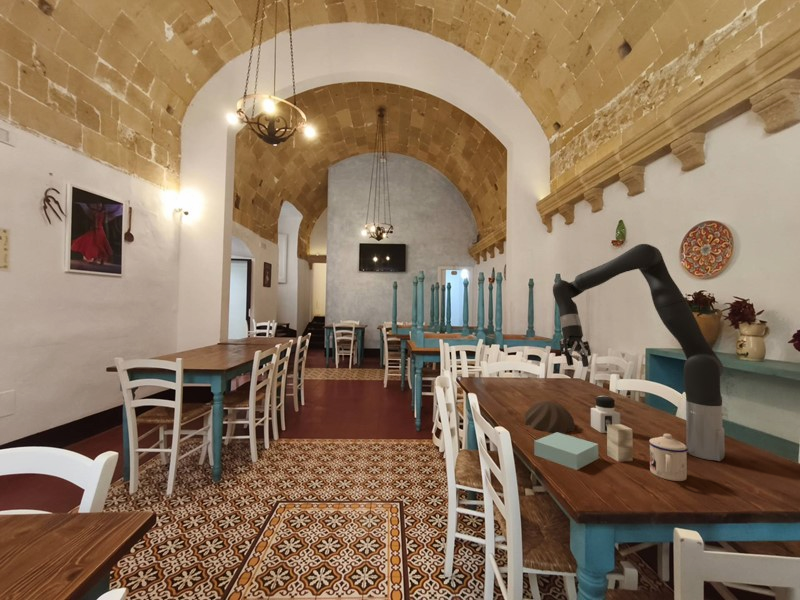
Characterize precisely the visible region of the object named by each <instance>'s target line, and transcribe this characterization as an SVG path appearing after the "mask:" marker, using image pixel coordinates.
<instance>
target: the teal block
mask: <svg viewBox="0 0 800 600" xmlns="http://www.w3.org/2000/svg"><path fill="white" fill-rule="evenodd" d="M533 442H534V443H533V444H534V446H533V447H534V449H533V450H534V456H536V457H539V458H542V459H544V460H547V461H550V462H553V463H556V464H559V465H562V466H563V467H566V468H569V469H572V470H575V471H578V470H580V469H581V468H583V467H586V466H587V465H589V464H591V463H593V462H594V461H597V460H598V459H599V443H595V442H593V441H589V440H586V439H582V438H578V437H575V436H572V435H568V434H566V433H560V432H552V433H551V434H549V435H548V434H547V435H545V436H544V437H540V438H538V439H535V440H534V441H533Z"/></svg>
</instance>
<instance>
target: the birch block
mask: <svg viewBox="0 0 800 600" xmlns="http://www.w3.org/2000/svg"><path fill="white" fill-rule="evenodd" d="M606 444H607V445H606V452H607V453H606V455H607V457H609V458H611V459H613V460H615V461H616V462H633V458H634V457H633V455H634V453H633V447H634V446H633V428H630V426H629V427H628V426H626V425H624V424H622V423H620V424H612V425H607V433H606Z"/></svg>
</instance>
